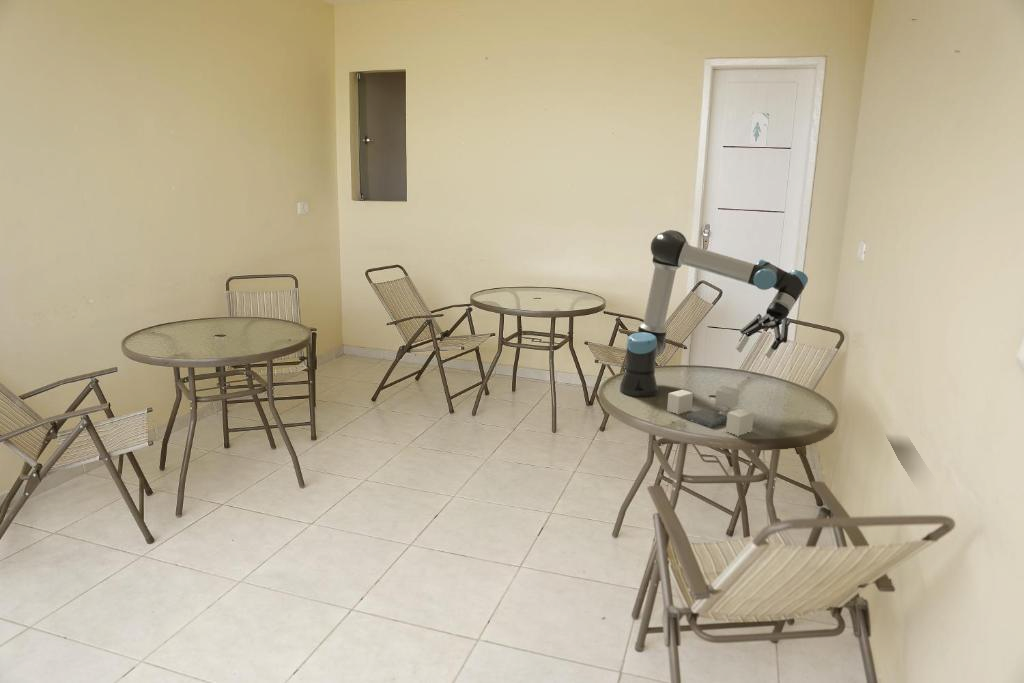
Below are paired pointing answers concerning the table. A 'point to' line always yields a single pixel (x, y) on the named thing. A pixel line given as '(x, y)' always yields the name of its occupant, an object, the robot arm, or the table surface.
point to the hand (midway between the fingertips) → (752, 353)
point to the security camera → (727, 398)
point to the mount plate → (707, 418)
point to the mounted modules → (736, 420)
